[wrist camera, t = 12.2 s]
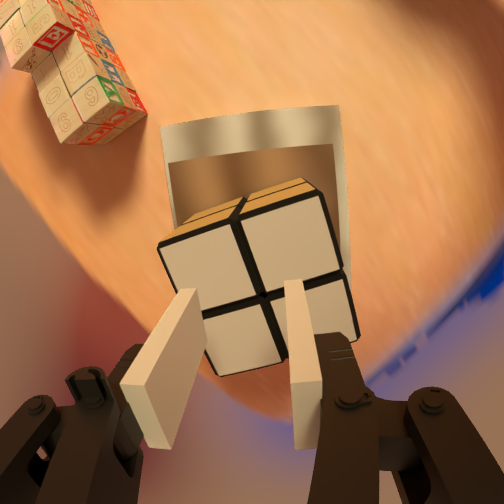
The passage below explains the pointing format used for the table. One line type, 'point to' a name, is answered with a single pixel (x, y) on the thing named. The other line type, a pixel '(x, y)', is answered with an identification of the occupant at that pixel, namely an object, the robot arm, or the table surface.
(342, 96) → the table surface
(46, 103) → the stack of blocks
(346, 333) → the puzzle cube
